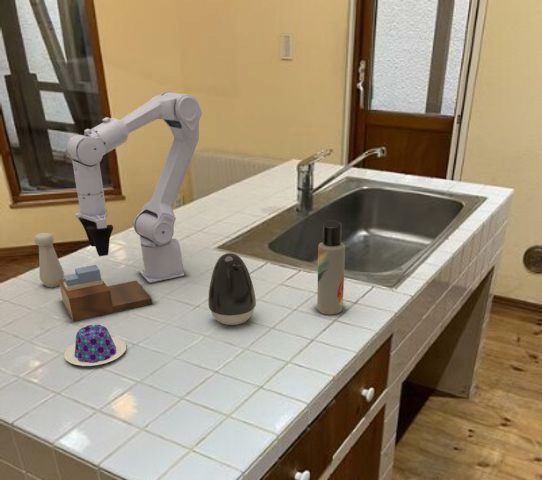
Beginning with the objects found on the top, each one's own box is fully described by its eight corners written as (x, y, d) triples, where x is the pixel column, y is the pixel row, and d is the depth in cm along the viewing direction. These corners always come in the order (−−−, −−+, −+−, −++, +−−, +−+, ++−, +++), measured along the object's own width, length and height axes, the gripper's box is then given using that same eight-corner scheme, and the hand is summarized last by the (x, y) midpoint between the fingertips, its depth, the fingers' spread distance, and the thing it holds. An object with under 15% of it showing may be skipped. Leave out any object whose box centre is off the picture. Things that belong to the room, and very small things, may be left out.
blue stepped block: (99, 279, 140) (96, 264, 138) (103, 284, 138) (100, 269, 136) (64, 286, 137) (61, 271, 135) (67, 291, 134) (64, 276, 133)
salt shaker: (58, 289, 149) (47, 238, 143) (37, 288, 150) (25, 237, 144) (69, 280, 154) (59, 230, 148) (49, 279, 155) (38, 229, 149)
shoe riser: (137, 286, 150) (134, 265, 147) (152, 304, 141) (149, 282, 138) (63, 301, 143) (58, 280, 140) (73, 321, 134) (68, 298, 131)
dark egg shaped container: (221, 335, 127) (216, 266, 119) (202, 316, 135) (197, 250, 127) (265, 324, 130) (262, 257, 123) (244, 306, 138) (241, 242, 131)
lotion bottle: (345, 305, 137) (348, 219, 127) (339, 316, 133) (342, 227, 123) (320, 302, 139) (322, 217, 129) (314, 313, 134) (315, 225, 124)
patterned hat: (65, 344, 125) (60, 321, 122) (124, 335, 127) (120, 313, 125) (64, 373, 115) (59, 349, 112) (129, 363, 117) (125, 339, 115)
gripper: (65, 187, 140) (75, 244, 147) (79, 202, 129) (89, 262, 135) (96, 183, 143) (104, 239, 149) (112, 197, 131) (120, 257, 138)
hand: (99, 250), depth 142 cm, fingers open, 7 cm apart
